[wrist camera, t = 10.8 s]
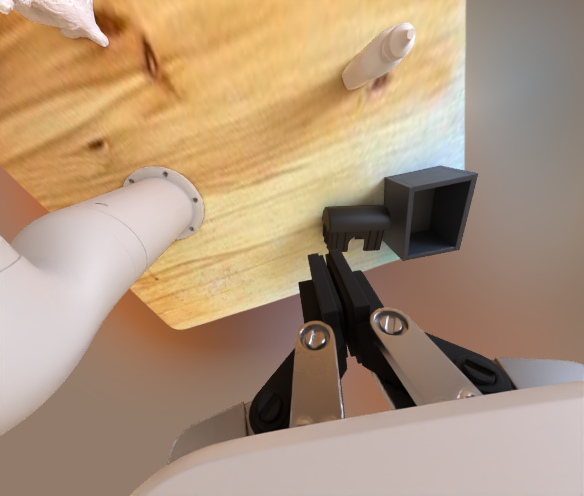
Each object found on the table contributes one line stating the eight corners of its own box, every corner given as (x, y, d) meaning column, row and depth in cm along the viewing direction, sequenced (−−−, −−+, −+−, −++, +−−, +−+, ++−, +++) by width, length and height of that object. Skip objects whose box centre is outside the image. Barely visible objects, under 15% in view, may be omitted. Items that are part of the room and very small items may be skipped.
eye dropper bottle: (379, 88, 29) (435, 64, 19) (340, 91, 29) (375, 68, 19) (383, 47, 27) (450, -6, 17) (341, 50, 27) (383, -2, 17)
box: (382, 240, 42) (402, 261, 35) (384, 177, 36) (409, 187, 29) (430, 231, 41) (459, 249, 35) (440, 165, 35) (478, 173, 29)
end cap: (376, 199, 37) (395, 211, 31) (369, 234, 41) (385, 251, 35) (322, 201, 37) (330, 214, 31) (320, 236, 40) (327, 254, 34)
